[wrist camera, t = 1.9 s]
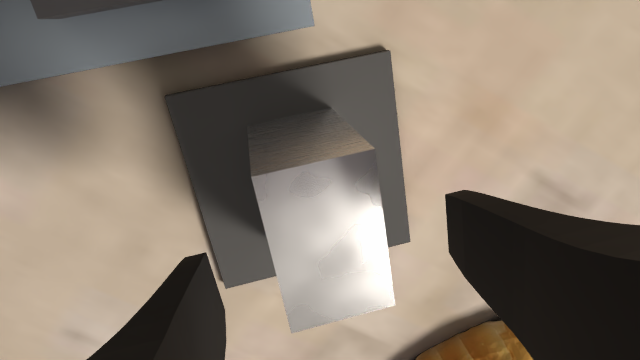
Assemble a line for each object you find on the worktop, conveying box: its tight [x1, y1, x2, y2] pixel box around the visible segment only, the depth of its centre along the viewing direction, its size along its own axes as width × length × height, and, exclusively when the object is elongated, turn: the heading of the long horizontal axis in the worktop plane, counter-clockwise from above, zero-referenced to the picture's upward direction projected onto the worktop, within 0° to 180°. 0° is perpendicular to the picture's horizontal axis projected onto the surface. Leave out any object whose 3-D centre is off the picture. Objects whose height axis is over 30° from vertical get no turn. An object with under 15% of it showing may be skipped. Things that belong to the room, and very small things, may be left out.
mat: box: [165, 50, 410, 289], centre depth 18 cm, size 9×9×1 cm
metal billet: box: [247, 108, 395, 333], centre depth 15 cm, size 4×6×6 cm, turn 10°
